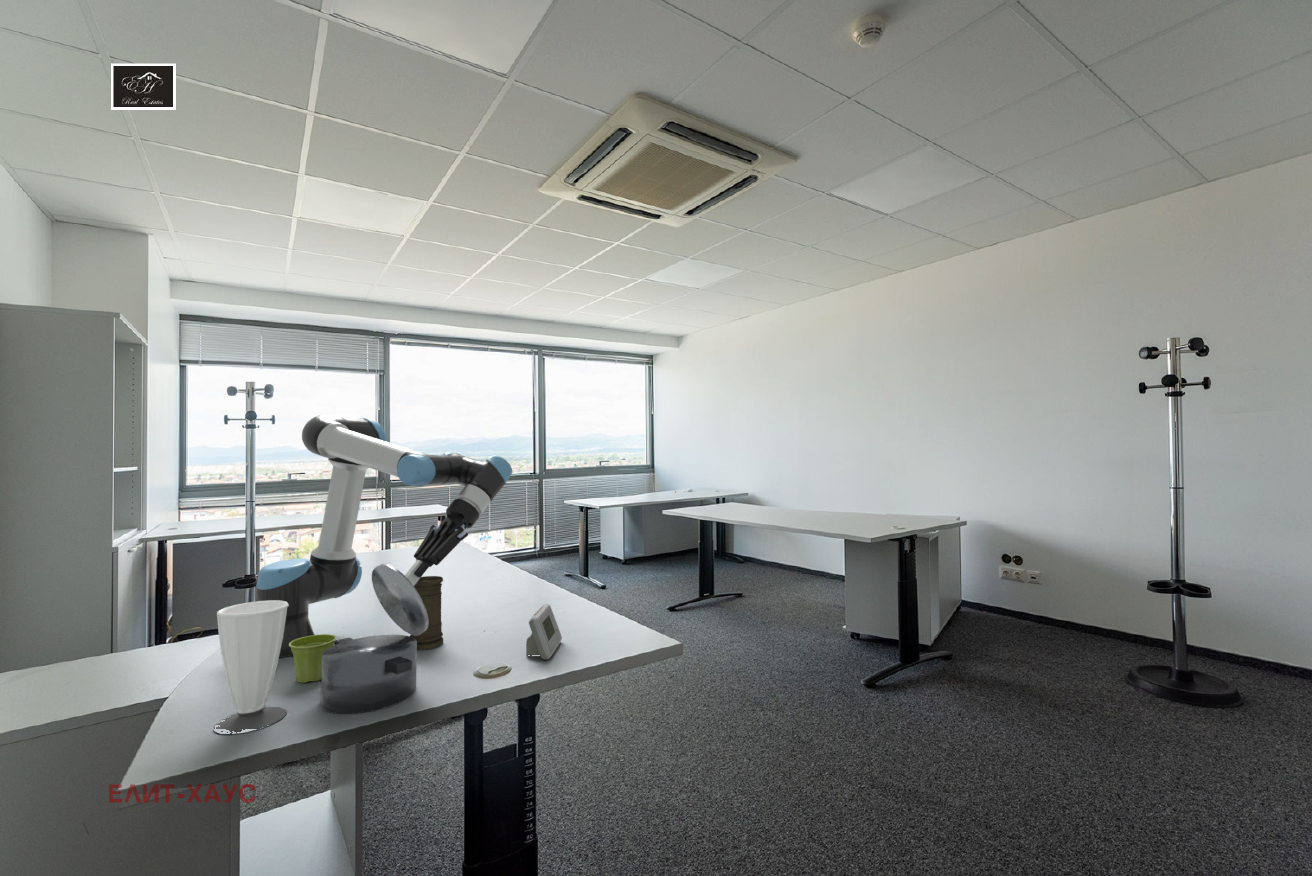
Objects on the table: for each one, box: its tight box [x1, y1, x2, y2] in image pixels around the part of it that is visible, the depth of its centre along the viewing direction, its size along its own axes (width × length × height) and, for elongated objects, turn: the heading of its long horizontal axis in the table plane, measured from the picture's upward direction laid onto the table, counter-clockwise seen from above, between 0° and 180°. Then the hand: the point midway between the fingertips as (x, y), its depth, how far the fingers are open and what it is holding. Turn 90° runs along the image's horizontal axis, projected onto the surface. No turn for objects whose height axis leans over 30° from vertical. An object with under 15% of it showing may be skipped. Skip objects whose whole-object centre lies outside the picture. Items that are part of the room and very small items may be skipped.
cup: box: [213, 600, 289, 734], centre depth 107 cm, size 12×12×22 cm
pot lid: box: [371, 563, 429, 636], centre depth 124 cm, size 18×18×2 cm
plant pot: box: [289, 633, 337, 684], centre depth 128 cm, size 9×9×9 cm
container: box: [409, 575, 444, 651], centre depth 151 cm, size 9×9×18 cm
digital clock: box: [525, 603, 563, 661], centre depth 145 cm, size 16×9×11 cm, turn 167°
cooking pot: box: [320, 634, 418, 715], centre depth 118 cm, size 27×18×10 cm, turn 54°
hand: (403, 587), depth 123 cm, fingers closed
